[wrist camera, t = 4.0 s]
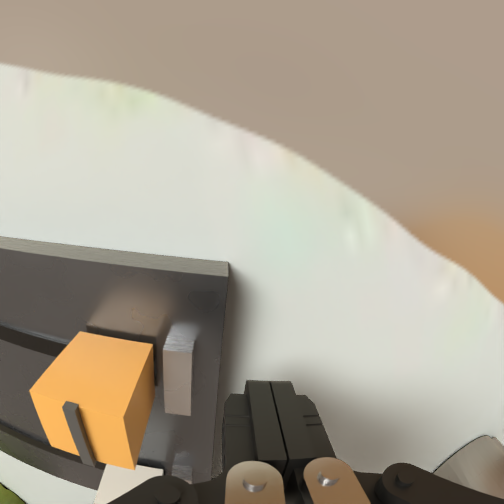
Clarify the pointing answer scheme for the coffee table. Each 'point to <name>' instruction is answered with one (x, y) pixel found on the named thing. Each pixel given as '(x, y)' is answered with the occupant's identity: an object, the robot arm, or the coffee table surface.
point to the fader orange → (98, 399)
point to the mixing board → (116, 326)
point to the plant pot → (9, 497)
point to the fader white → (122, 481)
